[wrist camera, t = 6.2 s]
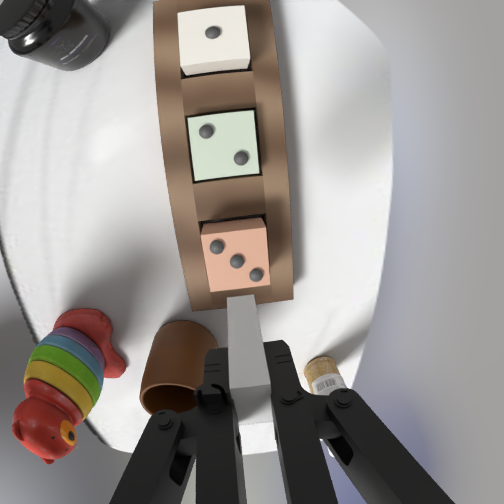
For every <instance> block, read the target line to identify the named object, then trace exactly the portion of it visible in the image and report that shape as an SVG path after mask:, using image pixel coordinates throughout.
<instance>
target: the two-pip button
mask: <svg viewBox="0 0 504 504" xmlns="http://www.w3.org/2000/svg"><path fill="white" fill-rule="evenodd" d="M188 126H189V135H190V144H191V152H192V161H193V169H194V176H195V181H197V180H204V179H212V178H219V177H228V176H236V175H246V174H256V173H259V165H258V154H257V143H256V132H255V122H254V111H242V112H231V113H222V114H214V115H206V116H199V117H192V118H188Z"/></svg>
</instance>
